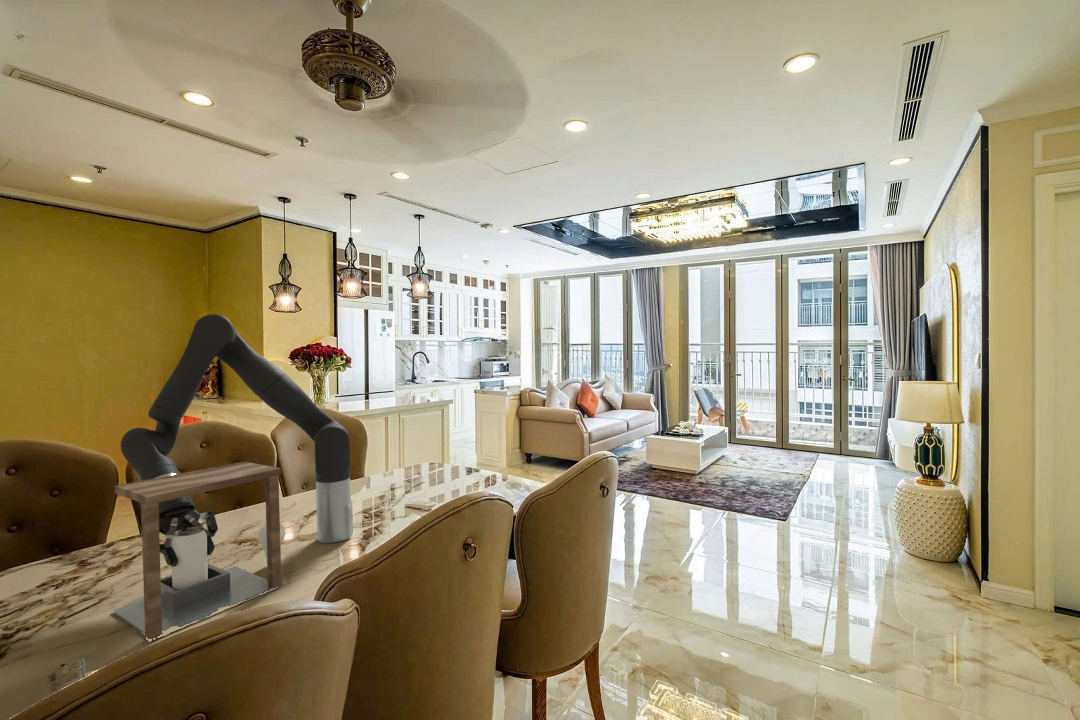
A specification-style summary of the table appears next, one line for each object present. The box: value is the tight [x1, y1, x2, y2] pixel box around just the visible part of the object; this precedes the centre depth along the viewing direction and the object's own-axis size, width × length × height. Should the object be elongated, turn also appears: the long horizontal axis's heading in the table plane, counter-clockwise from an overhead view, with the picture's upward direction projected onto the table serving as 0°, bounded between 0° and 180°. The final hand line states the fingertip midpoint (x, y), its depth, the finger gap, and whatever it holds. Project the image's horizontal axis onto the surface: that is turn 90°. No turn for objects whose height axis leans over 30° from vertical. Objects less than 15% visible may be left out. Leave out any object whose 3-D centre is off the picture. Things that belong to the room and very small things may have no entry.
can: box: [171, 526, 209, 590], centre depth 108 cm, size 6×6×12 cm
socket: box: [112, 563, 279, 642], centre depth 106 cm, size 20×24×4 cm
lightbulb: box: [257, 523, 286, 563], centre depth 122 cm, size 6×6×11 cm
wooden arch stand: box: [114, 461, 283, 643], centre depth 104 cm, size 16×25×28 cm, turn 148°
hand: (193, 558), depth 107 cm, fingers closed on can, 6 cm apart
